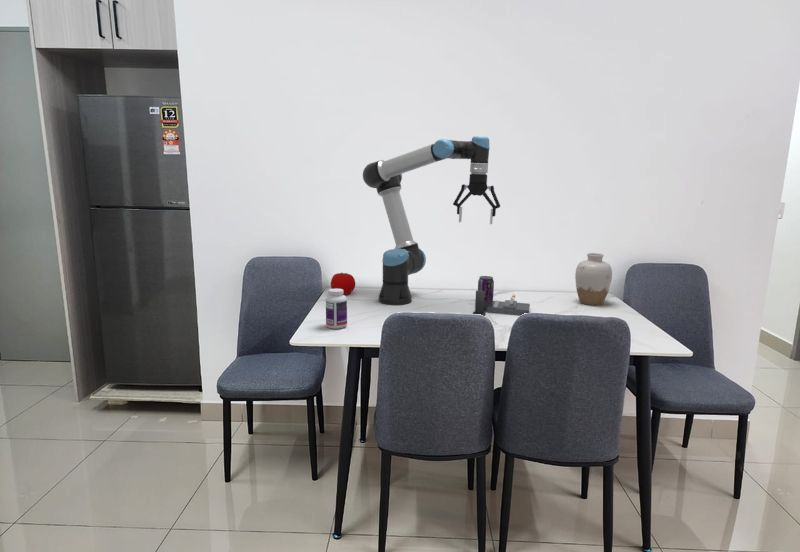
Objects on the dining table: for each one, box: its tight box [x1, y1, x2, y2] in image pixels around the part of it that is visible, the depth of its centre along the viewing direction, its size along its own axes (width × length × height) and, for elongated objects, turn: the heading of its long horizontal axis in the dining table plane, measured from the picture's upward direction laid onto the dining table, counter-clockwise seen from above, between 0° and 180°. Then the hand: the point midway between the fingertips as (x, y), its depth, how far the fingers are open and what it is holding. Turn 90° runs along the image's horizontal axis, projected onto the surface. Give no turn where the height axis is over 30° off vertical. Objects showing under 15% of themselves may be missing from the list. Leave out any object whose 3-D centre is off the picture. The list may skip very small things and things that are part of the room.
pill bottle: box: [325, 288, 348, 330], centre depth 203 cm, size 8×8×14 cm
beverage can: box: [477, 275, 495, 301], centre depth 243 cm, size 7×7×12 cm
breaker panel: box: [484, 299, 531, 316], centre depth 231 cm, size 22×12×4 cm, turn 74°
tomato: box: [330, 272, 356, 296], centre depth 257 cm, size 12×12×10 cm
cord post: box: [472, 289, 486, 317], centre depth 223 cm, size 5×5×10 cm
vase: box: [574, 252, 613, 306], centre depth 245 cm, size 16×16×23 cm
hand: (475, 223), depth 234 cm, fingers open, 13 cm apart
